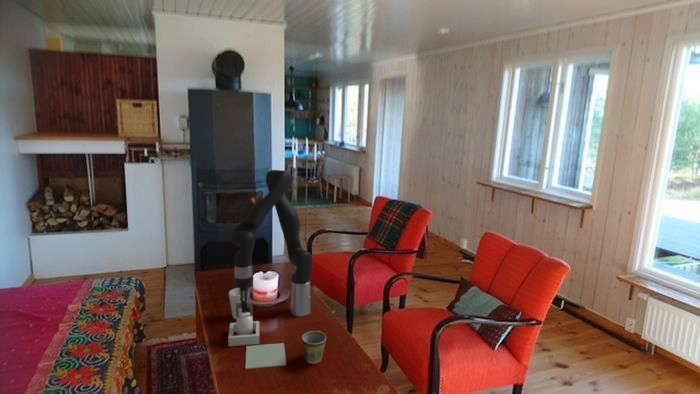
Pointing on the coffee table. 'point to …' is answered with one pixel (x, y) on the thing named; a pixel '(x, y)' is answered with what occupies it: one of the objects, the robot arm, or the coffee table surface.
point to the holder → (243, 336)
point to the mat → (265, 356)
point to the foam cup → (235, 301)
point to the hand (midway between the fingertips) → (244, 311)
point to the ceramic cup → (313, 346)
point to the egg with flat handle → (244, 320)
